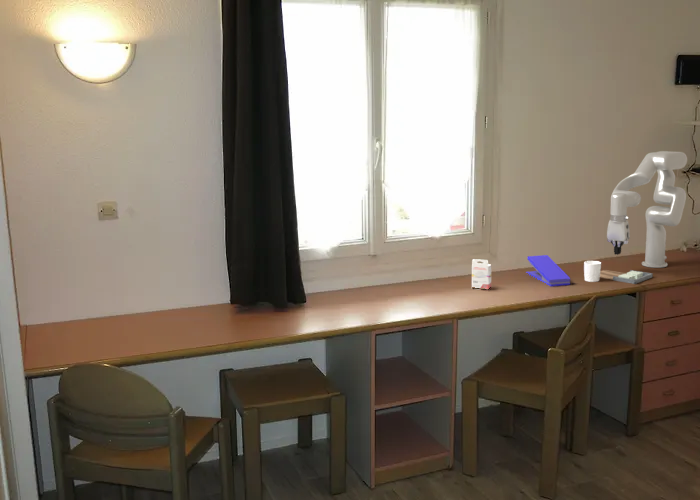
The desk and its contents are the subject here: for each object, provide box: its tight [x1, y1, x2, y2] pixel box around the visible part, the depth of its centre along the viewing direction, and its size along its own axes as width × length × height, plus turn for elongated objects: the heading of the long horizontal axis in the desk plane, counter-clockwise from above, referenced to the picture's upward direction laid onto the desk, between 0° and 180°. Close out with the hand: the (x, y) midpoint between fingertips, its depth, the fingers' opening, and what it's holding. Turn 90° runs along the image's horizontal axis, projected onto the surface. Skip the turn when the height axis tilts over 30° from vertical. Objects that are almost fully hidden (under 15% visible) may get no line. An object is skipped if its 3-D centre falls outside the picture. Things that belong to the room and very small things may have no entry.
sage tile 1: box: [618, 274, 635, 280], centre depth 350 cm, size 6×6×3 cm
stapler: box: [525, 254, 571, 287], centre depth 361 cm, size 12×28×10 cm, turn 12°
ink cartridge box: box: [471, 258, 492, 290], centre depth 347 cm, size 9×5×15 cm, turn 62°
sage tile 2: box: [626, 270, 643, 279], centre depth 356 cm, size 6×6×3 cm
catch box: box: [612, 269, 654, 285], centre depth 353 cm, size 18×11×3 cm, turn 132°
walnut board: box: [600, 269, 628, 281], centre depth 362 cm, size 16×14×1 cm
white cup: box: [583, 260, 602, 283], centre depth 352 cm, size 8×8×10 cm
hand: (617, 254), depth 363 cm, fingers closed
